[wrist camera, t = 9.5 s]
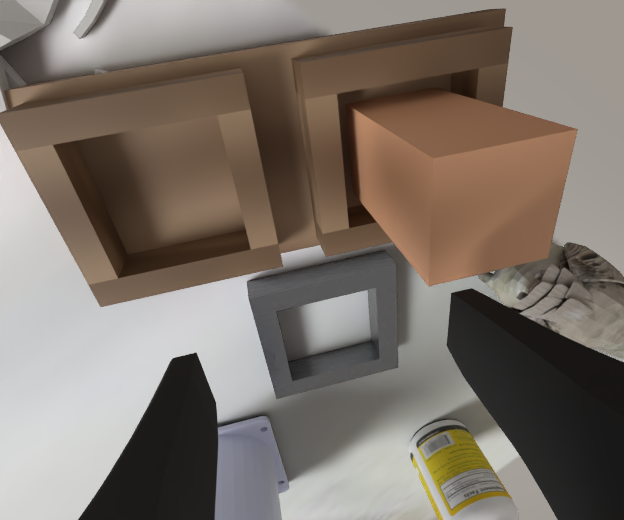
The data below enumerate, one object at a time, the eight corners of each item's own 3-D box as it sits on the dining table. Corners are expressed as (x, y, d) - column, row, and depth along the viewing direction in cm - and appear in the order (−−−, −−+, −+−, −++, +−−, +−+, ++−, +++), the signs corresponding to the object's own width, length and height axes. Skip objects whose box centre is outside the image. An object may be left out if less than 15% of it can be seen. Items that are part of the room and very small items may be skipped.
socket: (388, 349, 26) (397, 367, 25) (273, 379, 26) (276, 398, 24) (385, 250, 22) (396, 264, 21) (246, 281, 21) (248, 298, 20)
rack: (470, 200, 22) (506, 225, 19) (100, 280, 20) (82, 321, 17) (488, 9, 17) (539, 6, 14) (0, 89, 15) (-48, 103, 12)
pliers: (297, 146, 17) (-59, 236, 16) (290, 135, 18) (-39, 218, 17) (231, -183, 11) (-336, -81, 10) (228, -164, 13) (-274, -72, 11)
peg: (431, 175, 19) (547, 258, 12) (352, 191, 19) (428, 286, 12) (434, 87, 17) (577, 129, 10) (345, 103, 16) (433, 158, 10)
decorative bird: (567, 330, 30) (661, 411, 23) (415, 253, 23) (488, 337, 17) (623, 275, 28) (741, 347, 22) (475, 174, 21) (582, 236, 15)
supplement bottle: (447, 457, 35) (517, 588, 27) (396, 457, 34) (454, 597, 25) (477, 417, 33) (562, 548, 25) (423, 415, 31) (496, 554, 23)
